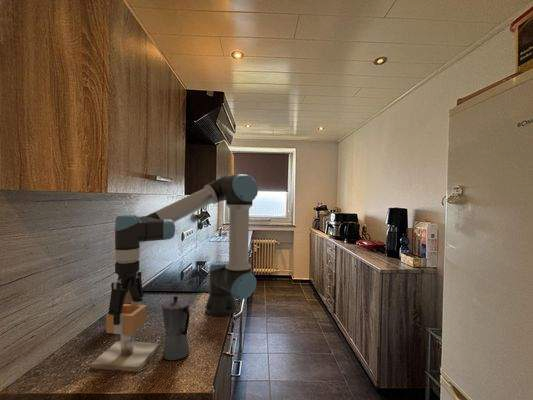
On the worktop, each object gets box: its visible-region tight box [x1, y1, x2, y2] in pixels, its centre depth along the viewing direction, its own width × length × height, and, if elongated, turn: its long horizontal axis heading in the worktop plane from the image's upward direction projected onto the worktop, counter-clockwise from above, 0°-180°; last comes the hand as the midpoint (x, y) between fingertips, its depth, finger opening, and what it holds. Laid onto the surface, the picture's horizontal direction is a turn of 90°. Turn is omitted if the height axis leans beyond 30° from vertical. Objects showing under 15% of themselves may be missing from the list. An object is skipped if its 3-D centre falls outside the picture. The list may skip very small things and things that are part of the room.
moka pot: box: [161, 296, 190, 361], centre depth 98 cm, size 10×15×20 cm, turn 51°
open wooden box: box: [105, 304, 148, 335], centre depth 96 cm, size 9×9×6 cm
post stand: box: [90, 333, 161, 373], centre depth 96 cm, size 14×16×10 cm
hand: (127, 326), depth 96 cm, fingers closed on open wooden box, 9 cm apart
